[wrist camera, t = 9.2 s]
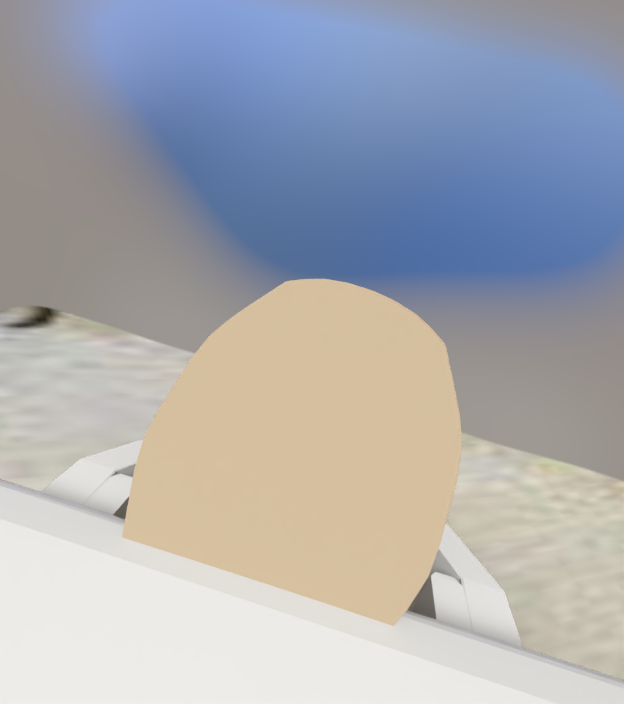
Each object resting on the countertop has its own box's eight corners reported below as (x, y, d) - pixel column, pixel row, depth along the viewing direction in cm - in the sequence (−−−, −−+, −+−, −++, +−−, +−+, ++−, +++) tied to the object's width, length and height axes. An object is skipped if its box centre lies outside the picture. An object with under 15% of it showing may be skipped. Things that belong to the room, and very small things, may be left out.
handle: (231, 529, 18) (42, 587, 5) (284, 419, 21) (263, 248, 7) (315, 573, 18) (378, 783, 4) (360, 454, 20) (493, 337, 7)
